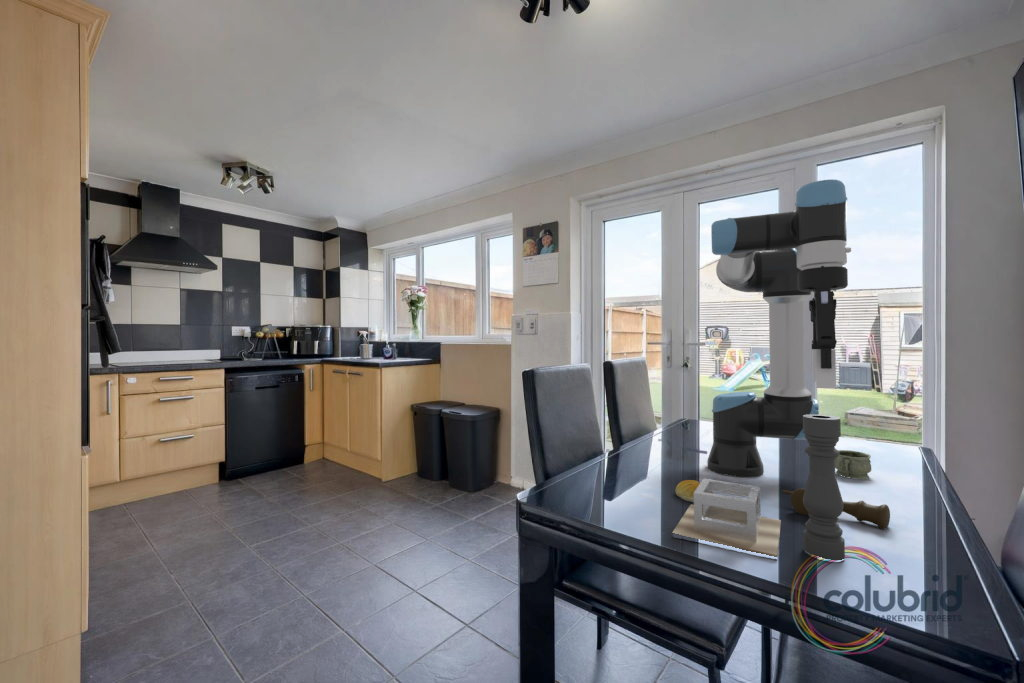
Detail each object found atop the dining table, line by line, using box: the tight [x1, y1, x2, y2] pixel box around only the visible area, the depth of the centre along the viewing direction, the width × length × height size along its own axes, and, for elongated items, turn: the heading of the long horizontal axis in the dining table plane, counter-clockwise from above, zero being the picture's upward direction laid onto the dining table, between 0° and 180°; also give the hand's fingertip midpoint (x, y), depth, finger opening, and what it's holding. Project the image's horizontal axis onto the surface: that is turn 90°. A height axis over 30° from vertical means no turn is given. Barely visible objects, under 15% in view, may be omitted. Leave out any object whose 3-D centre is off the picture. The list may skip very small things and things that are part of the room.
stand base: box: [671, 504, 782, 557], centre depth 91 cm, size 18×18×1 cm
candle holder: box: [802, 414, 846, 560], centre depth 81 cm, size 6×6×25 cm
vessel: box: [835, 449, 872, 480], centre depth 127 cm, size 12×9×6 cm
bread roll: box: [675, 479, 714, 503], centre depth 112 cm, size 8×9×4 cm
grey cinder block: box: [693, 478, 762, 543], centre depth 91 cm, size 11×11×8 cm
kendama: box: [781, 488, 891, 530], centre depth 99 cm, size 6×10×20 cm
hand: (823, 384), depth 81 cm, fingers open, 13 cm apart
